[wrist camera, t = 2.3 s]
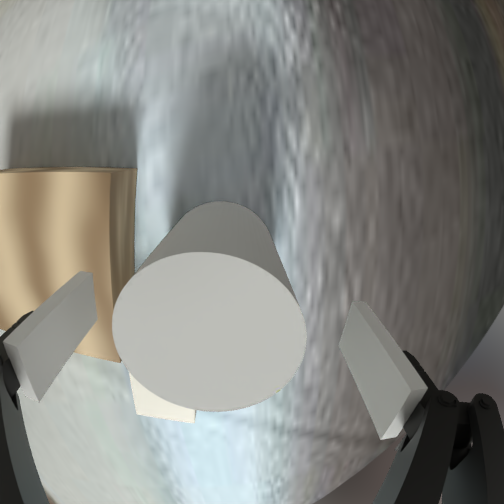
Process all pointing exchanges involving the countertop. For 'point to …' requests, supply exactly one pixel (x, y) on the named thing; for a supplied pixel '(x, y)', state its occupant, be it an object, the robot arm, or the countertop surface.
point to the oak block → (66, 241)
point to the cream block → (158, 405)
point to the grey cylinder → (211, 314)
